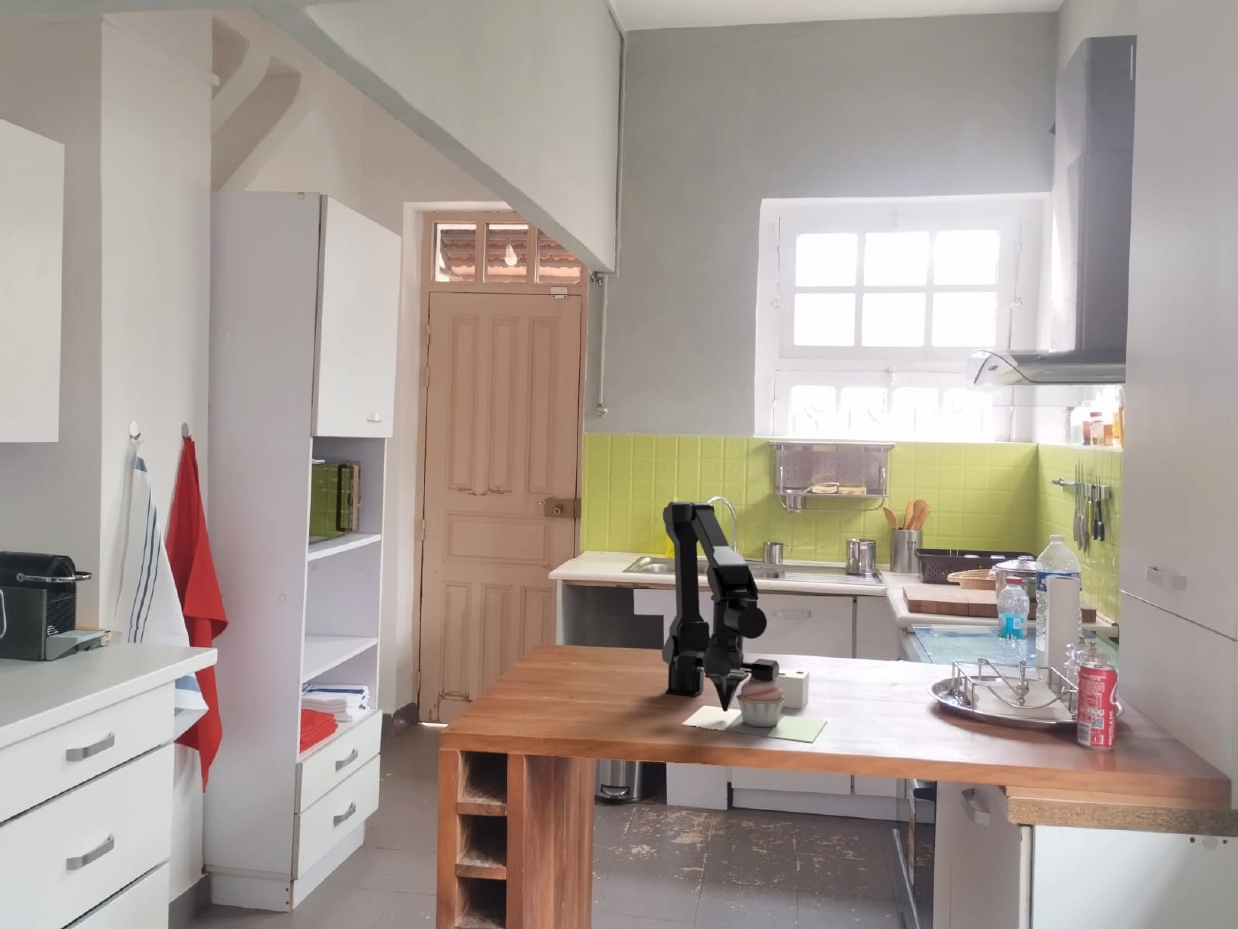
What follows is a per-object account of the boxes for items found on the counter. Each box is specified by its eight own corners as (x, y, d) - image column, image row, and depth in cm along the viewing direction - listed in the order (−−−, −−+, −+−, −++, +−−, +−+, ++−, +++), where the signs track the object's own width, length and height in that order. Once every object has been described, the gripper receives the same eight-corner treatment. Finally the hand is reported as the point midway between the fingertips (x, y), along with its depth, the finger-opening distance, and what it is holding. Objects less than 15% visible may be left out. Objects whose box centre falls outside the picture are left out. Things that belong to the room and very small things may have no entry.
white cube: (772, 705, 194) (773, 674, 194) (778, 698, 200) (779, 668, 199) (802, 709, 192) (803, 678, 192) (808, 701, 197) (809, 671, 197)
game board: (681, 725, 179) (681, 724, 179) (704, 706, 192) (704, 705, 192) (812, 743, 170) (812, 741, 170) (826, 722, 183) (826, 721, 183)
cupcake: (786, 732, 175) (787, 677, 175) (733, 728, 177) (735, 673, 176) (786, 718, 184) (787, 665, 184) (736, 714, 186) (738, 662, 186)
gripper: (666, 630, 179) (664, 715, 179) (766, 641, 172) (763, 729, 172) (686, 620, 189) (683, 700, 189) (781, 630, 182) (778, 713, 182)
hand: (725, 711), depth 183 cm, fingers closed
